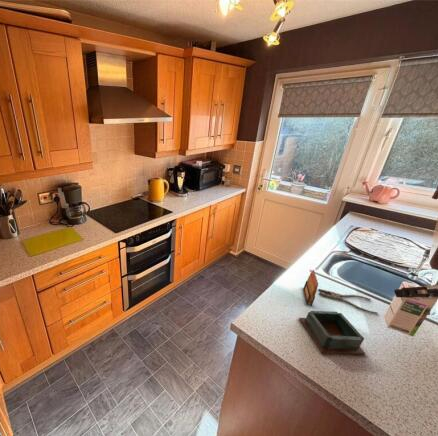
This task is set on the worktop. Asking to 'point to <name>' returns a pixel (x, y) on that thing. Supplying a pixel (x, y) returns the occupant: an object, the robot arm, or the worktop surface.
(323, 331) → the holder
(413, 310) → the syrup box
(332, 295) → the pliers
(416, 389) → the worktop surface
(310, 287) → the orange brown flat panel
